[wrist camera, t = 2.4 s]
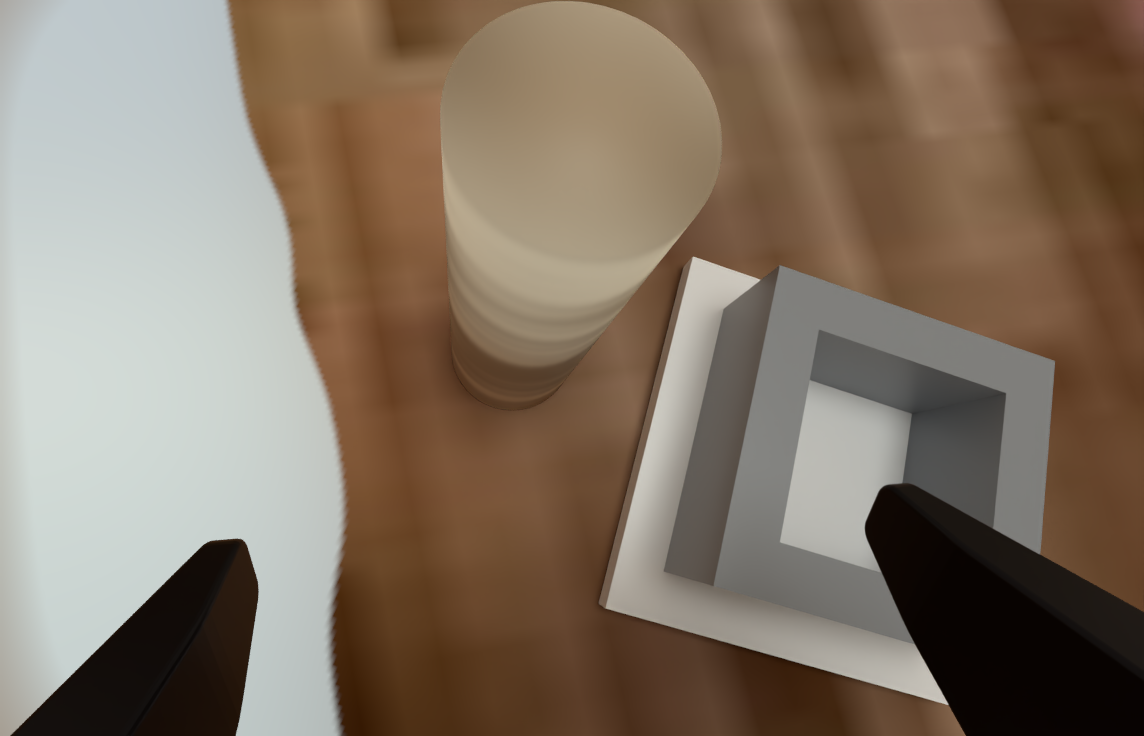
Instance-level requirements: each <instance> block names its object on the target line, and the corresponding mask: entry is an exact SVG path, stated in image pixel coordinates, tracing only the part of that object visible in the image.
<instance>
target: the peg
mask: <svg viewBox="0 0 1144 736" xmlns="http://www.w3.org/2000/svg"><path fill="white" fill-rule="evenodd" d="M440 126H441V146H442V167H443V187H444V208H445V228H446V249H447V269H448V290H449V310H450V331H451V351H452V361H453V366H454V369H455V372H456V374H457V376H458V378H459V380H460V382H461V383H462V385H463V386H464V387H465V389H466V390H467V391H468V392H469V393H470V394H471V395H472V396H473V397H475V398H476V399H478V400H479V401H481V402H483V403H484V404H486V405H489V406H491V407H494V408H498V409H503V410H521V409H527V408H530V407H533V406H536V405H538V404H540V403H542V402H543V401H545V400H547V399H548V398H549V397H550V396H552V395H553V394H554V393H555V392H556V391H557V390H558V388H559V387H560V386H561V385H562V383H563V382H564V381H565V380H566V378H567V377H568V376H569V375H570V373H571V372H572V371H573V370H574V368H575V367H576V366H577V365H578V363H579V362H580V361H581V360H582V358H583V357H584V356H585V355H586V353H587V352H588V351H589V350H590V348H591V347H592V346H593V345H594V343H595V342H596V341H597V340H598V338H599V337H600V336H601V335H602V333H603V332H604V331H605V330H606V328H607V327H608V326H609V324H610V323H611V322H612V321H613V319H614V318H615V317H616V316H617V314H618V313H619V312H620V311H621V309H622V308H623V307H624V306H625V304H626V303H627V302H628V301H629V299H630V298H631V297H632V296H633V294H634V293H635V292H636V291H637V289H638V288H639V287H640V286H641V284H642V283H643V282H644V281H645V279H646V278H647V277H648V276H649V274H650V273H651V272H652V271H653V269H654V268H655V267H656V266H657V264H658V263H659V262H660V261H661V259H662V258H663V257H664V256H665V254H666V253H667V252H668V251H669V249H670V248H671V247H672V246H673V244H674V243H675V242H676V241H677V239H678V238H679V237H680V236H681V234H682V233H683V232H684V231H685V229H686V228H687V227H688V226H689V224H690V223H691V222H692V221H693V219H694V218H695V217H696V216H697V214H698V213H699V212H700V210H701V209H702V207H703V206H704V204H705V203H706V202H707V200H708V198H709V196H710V194H711V192H712V190H713V188H714V185H715V182H716V179H717V176H718V173H719V168H720V163H721V157H722V135H721V126H720V121H719V117H718V113H717V109H716V106H715V103H714V100H713V98H712V95H711V93H710V91H709V89H708V87H707V85H706V83H705V81H704V80H703V78H702V76H701V75H700V73H699V72H698V70H697V69H696V68H695V66H694V65H693V63H692V62H691V61H690V60H689V59H688V58H687V56H686V55H685V54H684V53H683V52H682V51H681V50H680V49H679V48H678V47H677V46H676V45H675V44H674V43H673V42H671V41H670V40H669V39H668V38H667V37H665V36H664V35H663V34H661V33H660V32H659V31H657V30H656V29H654V28H653V27H651V26H649V25H648V24H646V23H644V22H643V21H641V20H639V19H637V18H635V17H633V16H630V15H628V14H626V13H624V12H621V11H618V10H615V9H612V8H609V7H606V6H601V5H596V4H591V3H585V2H574V1H553V2H545V3H538V4H533V5H529V6H526V7H522V8H519V9H516V10H514V11H511V12H509V13H506V14H504V15H502V16H500V17H499V18H497V19H495V20H493V21H492V22H490V23H488V24H487V25H486V26H485V27H483V28H482V29H481V30H479V31H478V32H477V33H476V34H475V35H474V36H473V37H472V38H471V39H470V40H469V41H468V42H467V43H466V44H465V45H464V47H463V48H462V50H461V51H460V52H459V54H458V55H457V57H456V58H455V60H454V62H453V64H452V66H451V68H450V70H449V72H448V74H447V78H446V81H445V84H444V87H443V92H442V98H441V105H440Z"/></svg>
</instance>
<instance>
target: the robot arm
mask: <svg viewBox="0 0 1144 736" xmlns="http://www.w3.org/2000/svg"><path fill="white" fill-rule="evenodd" d="M865 535H866V538H867V541H868V543H869V546H870V548H871V550H872V552H873V555H874V557H875V559H876V561H877V564H878V566H879V568H880V571H881V573H882V575H883V577H884V580H885V582H886V584H887V586H888V589H889V591H890V593H891V595H892V598H893V600H894V602H895V604H896V607H897V609H898V611H899V613H900V616H901V618H902V620H903V622H904V624H905V626H906V628H907V630H908V632H909V634H910V636H911V638H912V640H913V642H914V644H915V646H916V647H917V649H918V651H919V653H920V655H921V656H922V658H923V660H924V662H925V664H926V665H927V667H928V669H929V671H930V672H931V674H932V676H933V678H934V680H935V681H936V683H937V685H938V687H939V689H940V690H941V692H942V694H943V696H944V697H945V699H946V701H947V703H948V705H949V706H950V708H951V710H952V712H953V714H954V715H955V717H956V719H957V721H958V722H959V724H960V726H961V728H962V730H963V731H964V733H965V735H966V736H1144V612H1143V611H1141V610H1139V609H1137V608H1135V607H1134V606H1132V605H1130V604H1128V603H1126V602H1125V601H1123V600H1121V599H1119V598H1117V597H1116V596H1114V595H1112V594H1110V593H1108V592H1107V591H1105V590H1103V589H1101V588H1099V587H1098V586H1096V585H1094V584H1092V583H1090V582H1089V581H1087V580H1085V579H1083V578H1081V577H1079V576H1078V575H1076V574H1074V573H1072V572H1070V571H1069V570H1067V569H1065V568H1063V567H1061V566H1060V565H1058V564H1056V563H1054V562H1052V561H1051V560H1049V559H1047V558H1045V557H1043V556H1042V555H1040V554H1038V553H1036V552H1034V551H1033V550H1031V549H1029V548H1027V547H1025V546H1024V545H1022V544H1020V543H1018V542H1016V541H1015V540H1013V539H1011V538H1009V537H1007V536H1006V535H1004V534H1002V533H1000V532H998V531H997V530H995V529H993V528H991V527H989V526H988V525H986V524H984V523H982V522H980V521H979V520H977V519H975V518H973V517H971V516H970V515H968V514H966V513H964V512H962V511H961V510H959V509H957V508H955V507H953V506H952V505H950V504H948V503H946V502H944V501H943V500H941V499H939V498H937V497H935V496H934V495H932V494H930V493H928V492H926V491H925V490H923V489H921V488H919V487H917V486H915V485H913V484H910V483H899V484H887V485H884V486H883V487H882V488H881V489H880V490H879V492H878V494H877V496H876V498H875V501H874V503H873V505H872V507H871V510H870V512H869V514H868V517H867V519H866V522H865ZM257 603H258V581H257V578H256V574H255V571H254V568H253V564H252V561H251V557H250V554H249V551H248V548H247V545H246V543H245V542H244V541H243V540H242V539H227V540H215V541H210V542H207V543H206V544H204V545H203V546H202V547H201V548H200V549H199V550H198V551H197V552H196V553H195V554H194V555H193V556H192V557H190V559H188V561H187V562H185V563H184V564H183V565H182V566H181V567H180V568H179V569H178V570H177V571H176V572H175V573H174V575H172V576H171V577H170V578H169V579H168V580H167V581H166V582H165V583H164V584H163V585H162V586H161V587H160V588H159V589H158V590H157V591H156V592H155V593H154V594H153V595H152V596H151V597H150V598H149V599H148V600H147V601H146V602H145V603H144V604H143V605H142V606H141V607H140V608H139V609H138V610H137V611H136V612H135V613H134V614H133V615H132V616H131V617H130V618H129V619H128V620H127V621H126V622H125V623H124V624H123V625H122V626H121V627H120V628H119V629H118V630H117V631H116V632H115V633H114V634H113V635H112V636H111V637H110V638H109V639H108V640H107V641H106V642H105V643H104V644H103V645H102V646H101V647H100V648H99V649H98V650H96V651H95V653H94V654H93V655H91V656H90V658H88V659H87V660H86V661H85V662H84V663H83V664H82V665H81V666H80V667H79V668H78V669H77V670H76V671H75V673H73V674H72V675H71V676H70V677H69V678H68V679H67V680H66V681H65V682H64V683H63V684H62V685H61V686H60V687H59V688H58V689H57V690H56V691H55V692H54V693H53V694H52V695H51V696H50V697H49V698H48V699H47V700H46V701H45V702H44V703H43V704H42V705H41V706H40V707H39V708H38V709H37V710H36V711H35V712H34V713H33V714H32V715H31V716H30V717H29V718H28V719H27V720H26V721H25V722H24V723H23V724H22V725H21V726H20V727H19V728H18V729H17V730H16V731H15V732H14V733H13V734H12V735H11V736H236V731H237V727H238V723H239V718H240V713H241V707H242V701H243V695H244V688H245V682H246V675H247V668H248V662H249V655H250V649H251V642H252V636H253V629H254V622H255V616H256V609H257Z"/></svg>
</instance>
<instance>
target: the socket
mask: <svg viewBox="0 0 1144 736" xmlns="http://www.w3.org/2000/svg"><path fill="white" fill-rule="evenodd" d="M1054 367H1055V361H1053V360H1050V359H1047V358H1044V357H1042V356H1039V355H1036V354H1033V353H1030V352H1027V351H1024V350H1021V349H1019V348H1016V347H1013V346H1010V345H1007V344H1004V343H1001V342H999V341H996V340H993V339H990V338H987V337H984V336H981V335H978V334H976V333H973V332H970V331H967V330H964V329H961V328H958V327H956V326H953V325H950V324H947V323H944V322H941V321H938V320H935V319H933V318H930V317H927V316H924V315H921V314H918V313H915V312H913V311H910V310H907V309H904V308H901V307H898V306H895V305H892V304H890V303H887V302H884V301H881V300H878V299H875V298H872V297H870V296H867V295H864V294H861V293H858V292H855V291H852V290H850V289H847V288H844V287H841V286H838V285H835V284H832V283H829V282H827V281H824V280H821V279H818V278H815V277H812V276H809V275H807V274H804V273H801V272H798V271H795V270H792V269H789V268H786V267H784V266H781V265H780V266H778V267H777V268H776V269H775V270H773V271H772V272H771V273H769V274H768V275H767V276H765V277H764V278H763V279H762V280H759V279H757V278H754V277H751V276H748V275H745V274H742V273H739V272H736V271H733V270H731V269H728V268H725V267H722V266H719V265H716V264H713V263H710V262H707V261H704V260H702V259H699V258H696V257H692V258H691V259H690V260H689V262H688V263H687V264H686V265H685V266H684V267H683V270H682V274H681V278H680V282H679V286H678V290H677V294H676V298H675V302H674V306H673V310H672V314H671V318H670V322H669V326H668V330H667V334H666V338H665V342H664V346H663V350H662V354H661V358H660V362H659V366H658V369H657V373H656V377H655V381H654V385H653V389H652V393H651V397H650V401H649V405H648V409H647V413H646V417H645V421H644V425H643V429H642V433H641V437H640V441H639V445H638V449H637V453H636V457H635V461H634V465H633V469H632V472H631V476H630V480H629V484H628V488H627V492H626V496H625V500H624V504H623V508H622V512H621V516H620V520H619V524H618V528H617V532H616V536H615V540H614V544H613V548H612V552H611V556H610V560H609V564H608V568H607V572H606V576H605V579H604V583H603V587H602V591H601V595H600V599H599V603H598V604H599V605H601V606H602V607H604V608H606V609H609V610H613V611H616V612H620V613H623V614H627V615H631V616H634V617H638V618H641V619H645V620H648V621H652V622H655V623H659V624H663V625H666V626H670V627H673V628H677V629H680V630H684V631H687V632H691V633H695V634H698V635H702V636H705V637H709V638H712V639H716V640H719V641H723V642H727V643H730V644H734V645H737V646H741V647H744V648H748V649H751V650H755V651H758V652H762V653H766V654H769V655H773V656H776V657H780V658H783V659H787V660H790V661H794V662H798V663H801V664H805V665H808V666H812V667H815V668H819V669H822V670H826V671H830V672H833V673H837V674H840V675H844V676H847V677H851V678H854V679H858V680H862V681H865V682H869V683H872V684H876V685H879V686H883V687H886V688H890V689H894V690H897V691H901V692H904V693H908V694H911V695H915V696H918V697H922V698H925V699H929V700H933V701H936V702H940V703H943V704H947V705H948V703H947V701H946V699H945V697H944V696H943V694H942V692H941V690H940V689H939V687H938V685H937V683H936V681H935V680H934V678H933V676H932V674H931V672H930V671H929V669H928V667H927V665H926V664H925V662H924V660H923V658H922V656H921V655H920V653H919V651H918V649H917V647H916V646H915V644H914V642H913V640H912V638H911V636H910V634H909V632H908V630H907V628H906V626H905V624H904V622H903V620H902V618H901V616H900V613H899V611H898V609H897V607H896V604H895V602H894V600H893V598H892V595H891V593H890V591H889V589H888V586H887V584H886V582H885V580H884V577H883V575H882V573H881V571H880V568H879V566H878V564H877V561H876V559H875V557H874V555H873V552H872V550H871V548H870V546H869V543H868V541H867V538H866V535H865V522H866V519H867V517H868V514H869V512H870V510H871V507H872V505H873V503H874V501H875V498H876V496H877V494H878V492H879V490H880V489H881V488H882V487H883V486H884V485H887V484H899V483H910V484H913V485H915V486H917V487H919V488H921V489H923V490H925V491H926V492H928V493H930V494H932V495H934V496H935V497H937V498H939V499H941V500H943V501H944V502H946V503H948V504H950V505H952V506H953V507H955V508H957V509H959V510H961V511H962V512H964V513H966V514H968V515H970V516H971V517H973V518H975V519H977V520H979V521H980V522H982V523H984V524H986V525H988V526H989V527H991V528H993V529H995V530H997V531H998V532H1000V533H1002V534H1004V535H1006V536H1007V537H1009V538H1011V539H1013V540H1015V541H1016V542H1018V543H1020V544H1022V545H1024V546H1025V547H1027V548H1029V549H1031V550H1033V551H1034V552H1036V553H1038V554H1040V550H1041V537H1042V524H1043V511H1044V497H1045V484H1046V471H1047V458H1048V445H1049V432H1050V419H1051V406H1052V393H1053V380H1054Z"/></svg>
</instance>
